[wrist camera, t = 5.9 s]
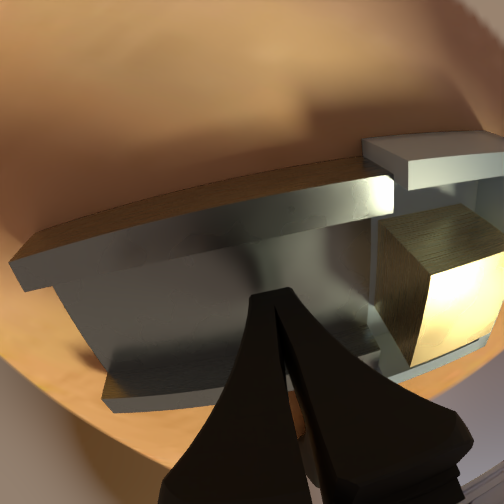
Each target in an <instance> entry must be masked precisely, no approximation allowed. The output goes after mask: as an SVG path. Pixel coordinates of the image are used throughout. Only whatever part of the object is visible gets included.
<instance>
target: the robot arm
mask: <svg viewBox="0 0 504 504" xmlns="http://www.w3.org/2000/svg"><path fill="white" fill-rule="evenodd" d="M284 362H285V364H284ZM285 365H286V368H287V371H288V374H289V376H290V379H291V382H292V385H293V388H294V391H295V394H296V397H297V400H298V403H299V406H300V408H301V411H302V414H303V418H304V421H305V424H306V429H307V433H308V437H309V441H310V446H311V450H312V455H313V459H314V464H315V468H316V473H317V477H318V482H319V486H320V491H321V495H322V501H323V504H504V460H503V461H502V462H501V463H499V464H498V465H496V466H495V467H493V468H492V469H490V470H489V471H487V472H485V473H484V474H482V475H480V476H479V477H477V478H475V479H474V480H472V481H470V482H469V483H467V484H465V485H463V486H460V484H459V481H458V479H457V477H458V476H460V471H459V469H458V467H457V465H456V464H457V463H458V462H459V461H460V460H461V459H462V458H463V457H464V456H465V455H466V454H467V453H468V452H469V450H470V449H471V448H472V446H473V442H474V440H473V438H472V436H471V434H470V432H469V430H468V428H467V427H466V425H465V423H464V422H463V421H462V419H461V418H460V417H459V415H458V414H457V413H456V412H455V411H453V410H450V409H448V408H445V407H443V406H440V405H438V404H435V403H433V402H431V401H429V400H427V399H424V398H422V397H420V396H419V395H417V394H415V393H413V392H411V391H409V390H407V389H405V388H403V387H402V386H400V385H398V384H397V383H395V382H393V381H392V380H390V379H388V378H387V377H385V376H383V375H382V374H380V373H379V372H377V371H376V370H374V369H373V368H371V367H370V366H369V365H367V364H366V363H364V362H363V361H362V360H360V359H359V358H358V357H357V356H355V355H354V354H353V353H352V352H350V351H349V350H348V349H347V348H346V347H344V346H343V345H342V344H341V343H340V342H339V341H338V340H337V339H336V338H335V337H333V336H332V335H331V334H330V333H329V332H328V331H327V330H326V329H325V328H324V327H323V326H322V325H321V324H320V322H319V321H318V320H317V319H316V318H315V317H314V316H313V315H312V314H311V313H310V312H309V310H308V309H307V308H306V307H305V306H304V304H303V303H302V302H301V301H300V299H299V298H298V296H297V295H296V294H295V292H294V291H293V289H292V288H290V287H285V288H280V289H276V290H271V291H266V292H261V293H257V294H252V295H251V296H250V297H249V306H248V314H247V319H246V324H245V329H244V332H243V336H242V340H241V344H240V347H239V350H238V353H237V356H236V359H235V362H234V365H233V368H232V370H231V373H230V375H229V377H228V380H227V382H226V384H225V387H224V389H223V391H222V393H221V395H220V397H219V399H218V401H217V403H216V405H215V406H214V408H213V410H212V412H211V414H210V416H209V417H208V419H207V421H206V422H205V424H204V426H203V427H202V429H201V430H200V432H199V433H198V435H197V436H196V438H195V439H194V441H193V442H192V444H191V445H190V447H189V448H188V449H187V451H186V452H185V453H184V455H183V456H182V457H181V458H180V459H179V461H178V462H177V463H176V464H175V466H174V467H173V468H172V469H171V470H170V472H169V473H168V474H167V475H166V476H165V478H164V479H163V481H162V484H161V488H160V493H159V499H158V504H312V500H311V495H310V490H309V486H308V482H307V478H306V474H305V469H304V465H303V461H302V456H301V452H300V448H299V444H298V439H297V435H296V431H295V426H294V422H293V418H292V413H291V409H290V405H289V398H288V389H287V380H286V372H285Z"/></svg>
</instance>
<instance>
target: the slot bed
mask: <svg viewBox="0 0 504 504" xmlns="http://www.w3.org/2000/svg"><path fill="white" fill-rule="evenodd" d="M393 209H394V174H393V173H391V172H389V171H388V170H386V169H384V168H383V167H381V166H379V165H378V164H376V163H374V162H373V161H371V160H369V159H367V158H366V157H364V156H358V157H351V158H344V159H337V160H331V161H324V162H318V163H312V164H306V165H300V166H295V167H289V168H284V169H278V170H273V171H268V172H262V173H257V174H252V175H247V176H243V177H238V178H233V179H228V180H224V181H219V182H215V183H210V184H206V185H202V186H197V187H193V188H189V189H185V190H181V191H176V192H172V193H168V194H164V195H161V196H157V197H153V198H149V199H145V200H141V201H138V202H134V203H130V204H127V205H123V206H120V207H116V208H113V209H109V210H106V211H102V212H99V213H96V214H92V215H89V216H86V217H83V218H79V219H76V220H73V221H70V222H67V223H64V224H61V225H57V226H54V227H51V228H48V229H45V230H42V231H40V232H37V233H35V234H34V235H33V236H32V237H31V238H30V239H29V240H28V241H27V242H26V243H25V244H24V245H23V247H22V248H21V249H20V250H19V251H18V252H17V253H16V254H15V255H14V257H13V258H12V259H11V260H10V261H9V262H8V263H9V265H10V267H11V268H12V270H13V272H14V274H15V276H16V278H17V280H18V281H19V283H20V285H21V287H22V288H23V290H24V292H28V291H32V290H36V289H41V288H45V287H49V286H53V288H54V289H55V291H56V293H57V295H58V297H59V298H60V300H61V302H62V303H63V305H64V307H65V309H66V310H67V312H68V314H69V315H70V317H71V319H72V320H73V322H74V323H75V325H76V327H77V328H78V330H79V331H80V333H81V334H82V336H83V337H84V339H85V340H86V342H87V343H88V345H89V346H90V348H91V349H92V351H93V352H94V354H95V355H96V357H97V358H98V359H99V361H100V362H101V364H102V365H103V366H104V368H105V369H106V371H107V372H108V373H107V377H106V381H105V385H104V389H103V393H102V398H101V399H102V401H103V402H104V403H105V404H106V405H107V406H108V407H109V408H110V410H111V411H112V412H113V413H133V412H150V411H163V410H174V409H184V408H193V407H201V406H209V405H216V403H217V401H218V399H219V397H220V395H221V393H222V391H223V389H224V387H225V384H226V382H227V380H228V377H229V375H230V373H231V370H232V368H233V365H234V362H235V359H236V356H237V353H238V350H239V347H240V344H241V340H242V336H243V332H244V329H245V324H246V319H247V314H248V306H249V297H250V296H251V295H252V294H257V293H261V292H266V291H271V290H276V289H280V288H285V287H290V288H292V289H293V291H294V292H295V294H296V295H297V296H298V298H299V299H300V301H301V302H302V303H303V304H304V306H305V307H306V308H307V309H308V310H309V312H310V313H311V314H312V315H313V316H314V317H315V318H316V319H317V320H318V321H319V322H320V324H321V325H322V326H323V327H324V328H325V329H326V330H327V331H328V332H329V333H330V334H331V335H332V336H333V337H335V338H336V339H337V340H338V341H339V342H340V343H341V344H342V345H343V346H344V347H346V348H347V349H348V350H349V351H350V352H352V353H353V354H354V355H355V356H357V357H358V358H359V359H360V360H362V361H363V362H364V363H366V364H367V365H369V366H370V367H371V368H373V369H374V368H378V363H379V357H380V351H381V349H380V348H379V346H378V344H377V342H376V340H375V338H374V336H373V334H372V333H371V331H370V329H369V327H368V325H367V317H368V303H369V286H370V263H371V217H376V216H381V215H386V214H391V213H393ZM284 364H285V362H284ZM285 372H286V380H287V389H288V391H293V390H294V388H293V385H292V382H291V379H290V376H289V374H288V371H287V368H286V365H285Z"/></svg>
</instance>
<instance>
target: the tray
mask: <svg viewBox="0 0 504 504" xmlns="http://www.w3.org/2000/svg"><path fill="white" fill-rule="evenodd" d="M362 151H363V156H364V157H366V158H367V159H369V160H371V161H373V162H374V163H376V164H378V165H379V166H381V167H383V168H384V169H386V170H388V171H389V172H391V173H393V174H394V209H393V213H391V214H386V215H381V216H376V217H371V263H370V286H369V303H368V317H367V325H368V327H369V329H370V331H371V333H372V334H373V336H374V338H375V340H376V342H377V344H378V346H379V348H380V349H381V351H380V357H379V363H378V368H374V370H376V371H377V372H379V373H380V374H382V375H383V376H385V377H387V378H388V379H390V380H392V381H393V382H395V383H397V384H398V383H401V382H403V381H406V380H409V379H411V378H414V377H416V376H419V375H422V374H424V373H426V372H429V371H431V370H434V369H436V368H439V367H441V366H443V365H445V364H448V363H450V362H452V361H454V360H457V359H459V358H461V357H463V356H465V355H467V354H469V353H472V352H474V351H476V350H478V349H480V348H482V347H484V346H485V345H486V343H487V340H488V338H489V336H490V333H491V332H490V333H489V334H487V335H485V336H483V337H480V338H478V339H476V340H474V341H472V342H470V343H468V344H466V345H463V346H461V347H459V348H457V349H455V350H452V351H450V352H448V353H445V354H443V355H441V356H438V357H436V358H433V359H431V360H428V361H426V362H423V363H421V364H418V365H415V366H413V367H409V365H408V363H407V361H406V360H405V358H404V356H403V354H402V353H401V351H400V349H399V347H398V346H397V344H396V342H395V341H394V339H393V337H392V335H391V334H390V332H389V330H388V329H387V327H386V325H385V324H384V322H383V320H382V319H381V317H380V315H379V314H378V312H377V310H376V309H375V307H374V300H375V286H376V269H377V243H378V220H381V219H386V218H391V217H396V216H400V215H405V214H410V213H415V212H420V211H425V210H430V209H435V208H440V207H445V206H450V205H455V204H460V203H461V204H463V205H464V206H466V207H467V208H469V209H470V210H472V211H473V212H475V213H476V214H478V215H479V216H480V217H482V218H483V219H485V220H486V221H487V222H489V223H490V224H492V225H493V226H494V227H496V228H497V229H498V230H500V231H501V232H502V233H504V137H501V136H499V135H496V134H493V133H490V132H487V131H485V130H483V131H448V132H429V133H415V134H402V135H391V136H381V137H371V138H362ZM503 300H504V298H503ZM502 303H503V301H502ZM501 306H502V304H501ZM500 308H501V307H500ZM499 311H500V310H499ZM498 314H499V312H498ZM497 316H498V315H497ZM496 319H497V317H496ZM495 321H496V320H495ZM494 324H495V322H494ZM493 326H494V325H493ZM492 329H493V327H492ZM491 331H492V330H491Z"/></svg>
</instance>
